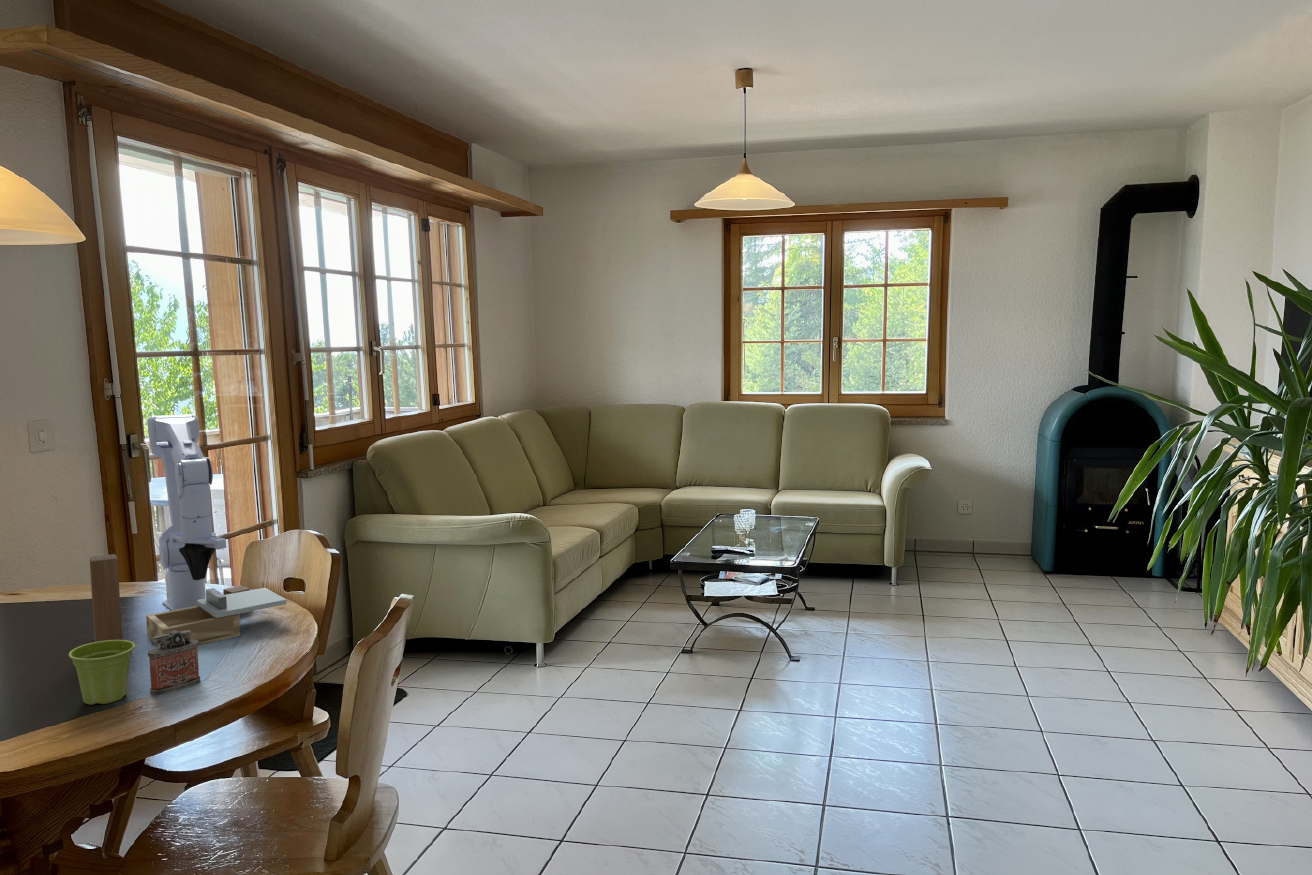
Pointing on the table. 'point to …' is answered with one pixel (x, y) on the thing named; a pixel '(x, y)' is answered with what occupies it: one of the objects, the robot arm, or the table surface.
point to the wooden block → (105, 598)
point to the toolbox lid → (239, 601)
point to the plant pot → (103, 669)
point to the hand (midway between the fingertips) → (199, 578)
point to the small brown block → (235, 590)
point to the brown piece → (193, 624)
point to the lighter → (173, 663)
